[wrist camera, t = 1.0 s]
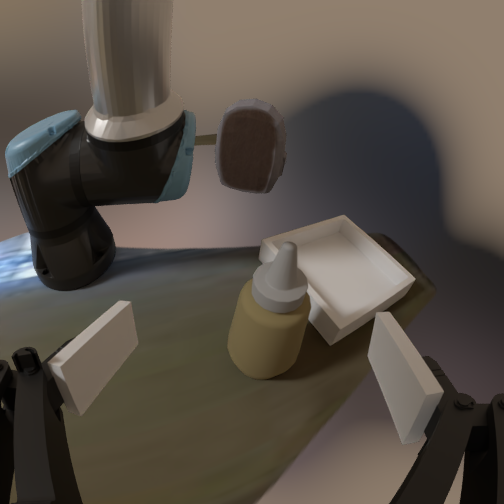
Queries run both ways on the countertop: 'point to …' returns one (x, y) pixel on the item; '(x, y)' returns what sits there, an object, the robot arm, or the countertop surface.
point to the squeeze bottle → (270, 317)
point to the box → (342, 274)
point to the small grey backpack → (250, 146)
